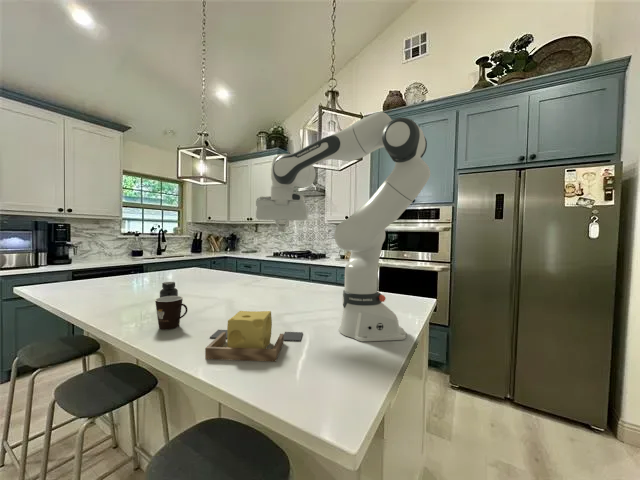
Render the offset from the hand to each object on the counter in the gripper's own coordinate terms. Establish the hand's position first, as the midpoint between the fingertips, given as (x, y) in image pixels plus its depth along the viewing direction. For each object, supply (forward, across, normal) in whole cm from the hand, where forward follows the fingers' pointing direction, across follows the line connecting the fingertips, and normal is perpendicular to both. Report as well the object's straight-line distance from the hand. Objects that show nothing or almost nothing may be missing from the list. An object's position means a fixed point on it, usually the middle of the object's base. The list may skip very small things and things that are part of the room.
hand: (281, 231), depth 115 cm
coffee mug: (+34, -36, -16) cm, 52 cm away
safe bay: (+34, -4, -33) cm, 47 cm away
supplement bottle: (+34, -48, +4) cm, 59 cm away
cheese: (+34, -4, -31) cm, 46 cm away
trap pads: (+34, -4, -21) cm, 40 cm away
